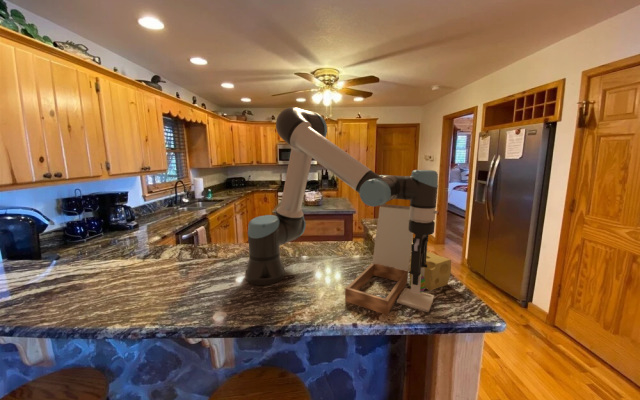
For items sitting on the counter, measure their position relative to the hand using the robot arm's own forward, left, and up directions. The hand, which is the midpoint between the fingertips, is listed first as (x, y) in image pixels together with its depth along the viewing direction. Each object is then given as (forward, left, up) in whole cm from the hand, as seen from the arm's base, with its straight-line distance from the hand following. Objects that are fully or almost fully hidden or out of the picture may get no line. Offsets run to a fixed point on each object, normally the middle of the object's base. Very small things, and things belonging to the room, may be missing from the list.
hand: (417, 289), depth 85 cm
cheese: (+1, +16, -4) cm, 17 cm away
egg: (0, 0, -1) cm, 1 cm away
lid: (-13, +14, +12) cm, 22 cm away
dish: (0, 0, -4) cm, 4 cm away
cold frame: (-13, +2, -4) cm, 13 cm away
